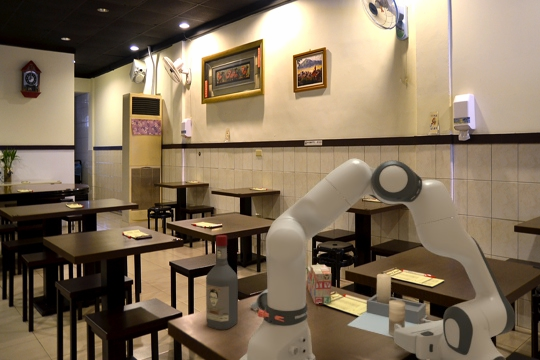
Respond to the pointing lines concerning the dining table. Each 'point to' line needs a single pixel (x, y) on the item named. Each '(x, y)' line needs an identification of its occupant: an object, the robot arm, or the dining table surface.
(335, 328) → the dining table surface
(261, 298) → the ceramic mug
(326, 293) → the stack of blocks
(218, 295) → the liquor
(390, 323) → the beech post
